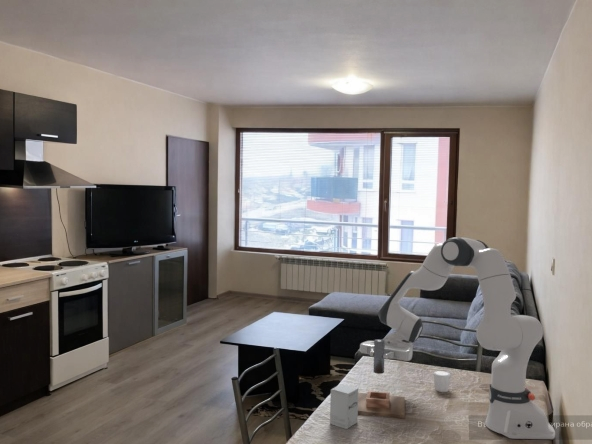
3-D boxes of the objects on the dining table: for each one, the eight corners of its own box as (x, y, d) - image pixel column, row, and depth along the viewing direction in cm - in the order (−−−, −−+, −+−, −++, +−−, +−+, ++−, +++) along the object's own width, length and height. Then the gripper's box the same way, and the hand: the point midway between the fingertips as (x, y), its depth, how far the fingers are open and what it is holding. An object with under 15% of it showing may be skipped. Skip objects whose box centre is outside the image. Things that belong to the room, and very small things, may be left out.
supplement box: (347, 429, 184) (348, 393, 183) (329, 424, 188) (329, 388, 188) (358, 422, 190) (359, 387, 189) (340, 417, 194) (341, 383, 194)
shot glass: (451, 392, 220) (452, 375, 219) (435, 392, 220) (435, 375, 219) (447, 386, 226) (448, 370, 226) (431, 386, 227) (431, 370, 226)
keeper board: (404, 399, 211) (404, 389, 211) (404, 418, 194) (404, 407, 194) (353, 395, 215) (354, 385, 215) (349, 413, 198) (349, 402, 198)
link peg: (384, 370, 205) (384, 339, 205) (383, 374, 202) (384, 342, 201) (373, 369, 206) (374, 339, 206) (373, 373, 202) (373, 341, 202)
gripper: (367, 335, 220) (353, 343, 208) (416, 343, 209) (403, 351, 197) (367, 350, 220) (353, 359, 208) (415, 358, 209) (403, 368, 198)
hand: (378, 355), depth 203 cm, fingers closed on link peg, 4 cm apart
